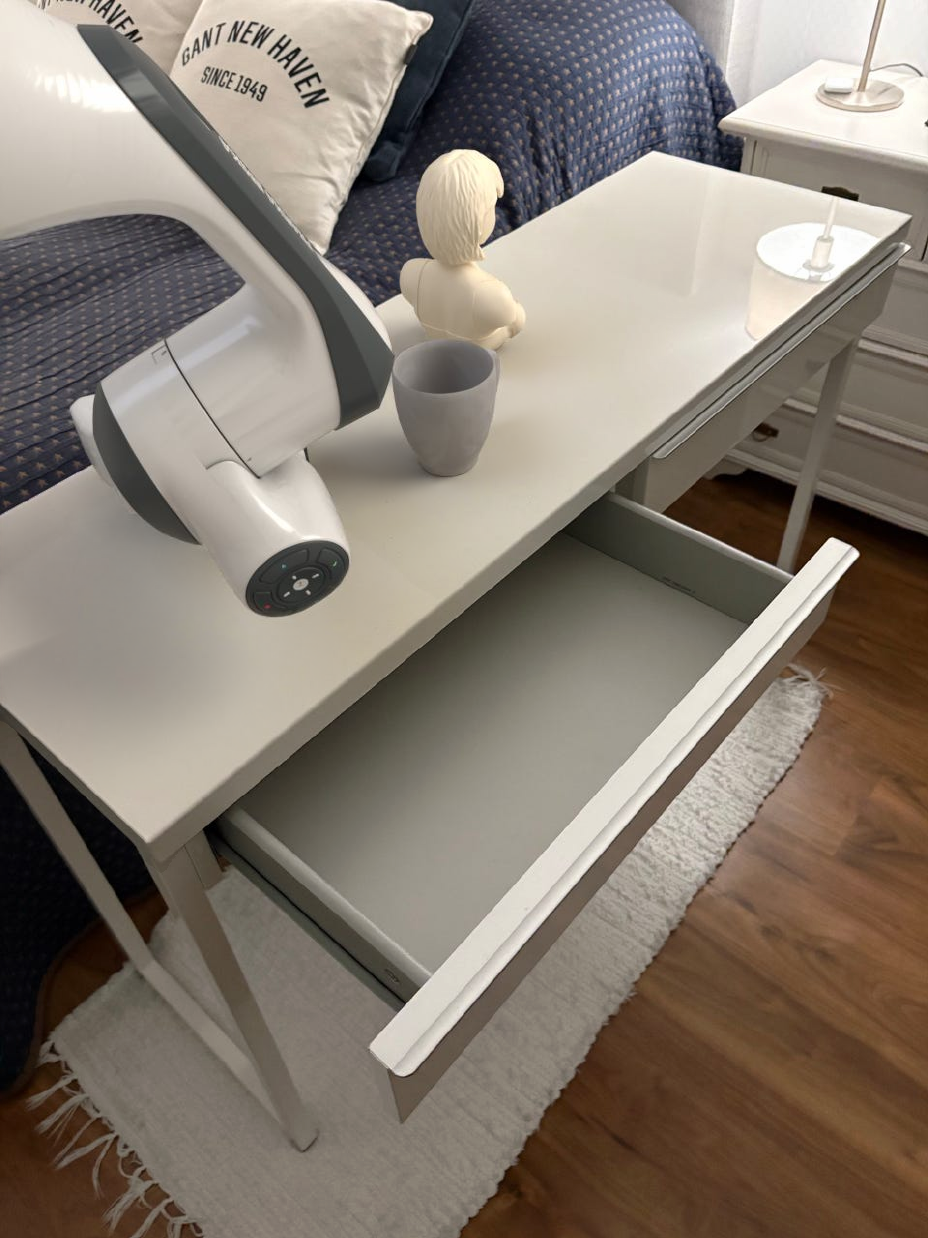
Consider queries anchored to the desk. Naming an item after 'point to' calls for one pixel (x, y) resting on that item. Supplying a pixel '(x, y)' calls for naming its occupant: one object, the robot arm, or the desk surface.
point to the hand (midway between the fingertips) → (189, 357)
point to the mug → (446, 402)
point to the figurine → (459, 255)
